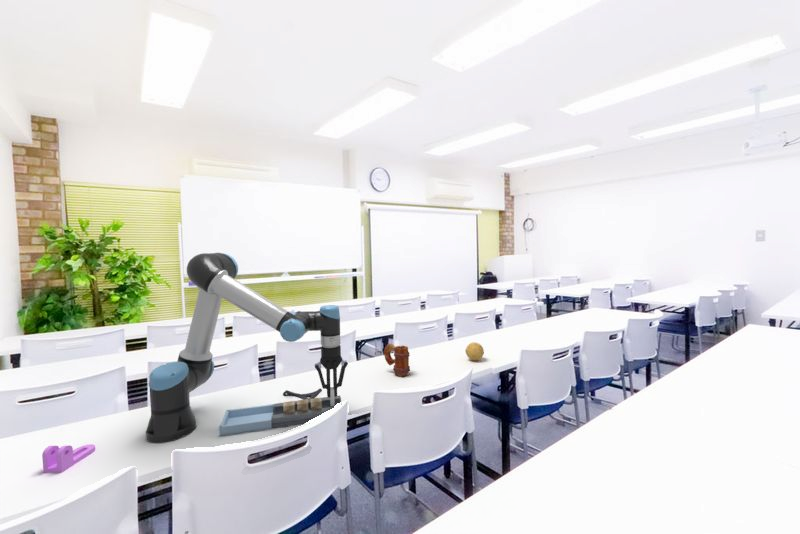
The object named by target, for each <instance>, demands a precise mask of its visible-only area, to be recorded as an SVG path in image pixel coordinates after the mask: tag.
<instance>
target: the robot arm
mask: <svg viewBox="0 0 800 534" xmlns="http://www.w3.org/2000/svg"><path fill="white" fill-rule="evenodd" d="M238 266H239V265H238V262H237V261H236V259H235V258H234V257H233V256H231V255H230V254H227V253H223V252H212V253H207V252H206V253H200V254H197V255H195V256H193V257H192V258H191V259H190V260H189V261H188V263H187V266H186V275H187V277H188V279H189V280H190V281H191V283H193V284H194V285H195V286H196V287H197V289H198V294H197V297H196V301H195V306H194V309H193V313H192V318H191V322H190V327H189V329H188V330H189V332H188V334H187V339H186V344H185V346H184V347H185V348H184V349H182V350H181V351H180V352H179V354H178V358H177V361H172V362H166V364H160V365H159V366H157V367H155V368H154V369H152V370H151V371H150V373H149V379H148V380H149V381H148V386H149V397H150V398H149V400H150V418H149V421H148V425H147V426H146V429H145V430H146V431H145V439H146V441H148V442H149V443H167V442H172V441H175V440H179V439H181V438H183V437H185V436H188V435H189V434H192V433H193V432H194V431H195V430H196V429H197V419H196V417H195V414H194V411H193V410H192V408H191V402H190V401H191V400H190V399H191V398H190V393H191V392H192V391H195V390H196V389H197V388H198V387H200V386H202V385H204V384H205V383H206V382H207V381H208V380H209V379H210V378H211V377H212V375H213V374H214V371H215V362H214V360H213V354H212V352H211V351H210V350H211V346H212V343H213V339H214V334H215V330H216V325H217V322H218V318H219V315H220V309H221V306H222V303H223V300H226V301H227V302H228V303H230V304H232V305H234V306H236V307H237V308H239V309H241V310H242V311H244V312H246V314H249V315H250V316H252V317H254V318H255V319H257V320H259V321H260V322H262V323H264V324H265V325H267V326H269V327H270V328H272V329H273V330H275V331H277V332H279V333H280V336H281V338H282V339H283V340H284V341H286V342H289V343H293V342H297V341H298V340H300V339H302V337H304V335H305V334H307V333H308V332H315V331H316V332H317V331H319V332H320V345H321V346H320V359H319V362H317V363H315V364H314V368H315V370H316V371H317V373H318V376H319V380H320V383H321V387H322V388H321V389H322V390H323V389H324V390H325V389H326V397H330V405H331V406H335V399H334V397H335V396H338V388H340V387H342V385H343V380H344V378H345V377H344V376H345V371H346V368H347V367H348V361H347V360H344V359H343V358H342V352H341V350H342V347H341V345H340V344H341V315H340V308H339V306H337V305H334V304H328V305H322V306H320V308H319V310H318V311H317V310H316V311H301V310H297V311H291V312H290V311H289V310H287V309H285V308H283V307H282V306H280V305H278V304H277V303H275V302H273V301H272V300H270V299H269V298H267V297H265V296H263V295H262V294H260V293H258V292H256V291H255V290H254V289H252V288H250V287H248V286H247V285H245V284H243V283H242V282H240V281H239V280H237V279H236V277H237V275H238V273H239V267H238ZM340 365H341V368H340V372H339V377H338V374H337V371H338V368H339V366H340ZM322 367H323V368H324V369H325V370H326V382H325V379H324V376H323V372H322V369H321V368H322ZM331 370H332V382H333V383H332V385H333V386H331Z"/></svg>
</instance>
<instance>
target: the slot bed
mask: <svg viewBox="0 0 800 534" xmlns="http://www.w3.org/2000/svg"><path fill="white" fill-rule="evenodd" d="M334 399H335V405H336V404H337V403H340V402H341V403H342V397H341V395H337V396H335V397H334ZM294 401H295V412H291V413H283V404H284V402H277V403H272V404H273V415H272V418H271V422H272V429H271V430H274V429H282V428H286V427H294V426H301V425H305V424H304V423H306V422H308V421H309V420H311V419H313V418H315V417H317V416H319V415H321V414H322V413H324V412H326V411H328V410H330V409H332V408H334V406H331V405H330V397H327V396H325V397H321V401H322V408H320V409H313V410H311V401H310V399H309V398H308V410H305V411H298V412H297V400H294Z"/></svg>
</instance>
